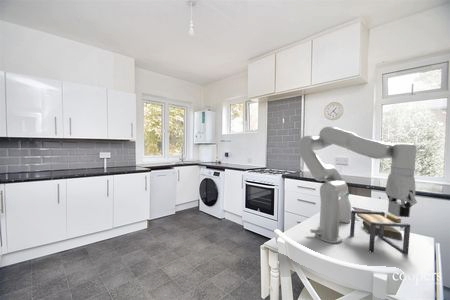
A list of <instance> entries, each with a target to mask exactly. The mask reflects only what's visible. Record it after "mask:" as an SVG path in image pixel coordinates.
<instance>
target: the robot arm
mask: <svg viewBox="0 0 450 300" xmlns="http://www.w3.org/2000/svg"><path fill="white" fill-rule="evenodd" d="M318 134H319V135H305V136H302V137H300V138H299V141H298V143H297V146H296V147H297V152H298V155H299V157H300V158H301V160H302V161H303V162H304V164H305V165H306V168H307V169H308V170H309V173H310V174H311V175H312V176H311V177H313V179H314V180H316V181H318V182H322V181H325V182H323V183H322V184H321V185H320V187H319V196H320V197H319V199H320V208H319V209H320V212H319V226H317V228H315V229H314V228H310V233H312V234H314V235H315V237H317V239H319V240H321V241H323V242H326V243H330V244H340V243H342V241H343V238H342V237H341V236H340V221H339V220H340V202H339V200H340V198H341V197H342V196H344V195H346V194H347V192H349V187H348V184H347V182H346V181H345V180H344V178H343V176H342V175H341V173H340V172H339V170H337V168H336V167H335V166H334V165H332V164H328V163H324V162H323V161H322V160H321V158H320V157H319V155H318V154H317V153H316V152H315V151H319V150H323V149H324V148H327V147H329V146H332V145H334V146H338V147H341V148H343V149H346V150H348V151H352V152H353V153H356V154H358V155H362V156H365V157H368V158H371V159H374V160H375V159H376V160H378V159H379V160H380V159H381V160H382V159H391V160H390V161H391V163H390V173H389V174H388V176H387V179H386V185H385V194H386V196H387V199H388V202H389V201H397V202H398V200H399V201H400V202H401V204H402V207H400V216H401V217H400V218H409V217H408V216H409V208H410V209H411V208H412V206H414V205H415V204H417V203H418V202H417V199H416V181H415V180H416V179H415V170H416V169H415V168H416V158H417V145H416V144H414V143H410V142H409V143H407V142H406V143H405V142H397V143H391V142H386V141H385V142H384V141H377V140H372V139H370V138H365V137H361V136H359V135H357V134H356V133H355V132H352V131H347V130H344V129H341V128H339V127H334V126H324V127H323V128H321V130H320V131H319V133H318Z"/></svg>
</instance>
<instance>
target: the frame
mask: <svg viewBox="0 0 450 300" xmlns="http://www.w3.org/2000/svg"><path fill="white" fill-rule="evenodd" d="M357 214H374V215H382V216H384V217H386V216H385V215H386V213H385V212H384V211H371V210H370V211H369V210H352V209H351V215H350V227H349V228H350V231H349V236H350V235H351V236H350V237H355V227H356V225H355V224H356V215H357ZM376 226H379V235H378V238H380V239H381V240H383V241H384V242H386V243H388V244H389V245H390V246H392V247H393V248H395V249H397V250H398V251H400V252H401V253H402V254H404V255H409V246H410V233H411V224H409V223H403V222H401V223H384V222H371V227H370V232H369V244H368V246H369V247H368V251H369V252H370V251H371V252H370V253H374V252H375V239H376V234H375V228H376ZM384 226H390V227H393V228H395V227H400V228H401V229H404V231H403V241H402V242H403V244H402V247H401V246H399V245H398V244H396V243H394V242H393V241H391V240H390V239H388V237H386V236H383V233H384Z"/></svg>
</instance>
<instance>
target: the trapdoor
mask: <svg viewBox="0 0 450 300" xmlns="http://www.w3.org/2000/svg"><path fill="white" fill-rule="evenodd" d="M385 215H386V216H385V217H384V216H382V215H377V214H356V216H357V217H359V218H360V219H362V221H367V222H368V223H370V224H371V222H384V223H402V218H401V217H397V216H395V215H393V214H391V213H386V214H385Z"/></svg>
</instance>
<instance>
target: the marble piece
mask: <svg viewBox="0 0 450 300" xmlns="http://www.w3.org/2000/svg"><path fill="white" fill-rule="evenodd" d="M362 225H363V229H365V230H366V231H367V232H368V233H370V227H371V224H370V223H368V222H367V221H365V220H362ZM376 235H377V236H379V226H376V228H375V236H376ZM383 236H384V237H386V238H391V237H392V238H391V239H395V238H397V239H396V240H402V239H403V235H402V232H401V231H399V230H398V229H396V228H395V227H394V226H384V233H383Z"/></svg>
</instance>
